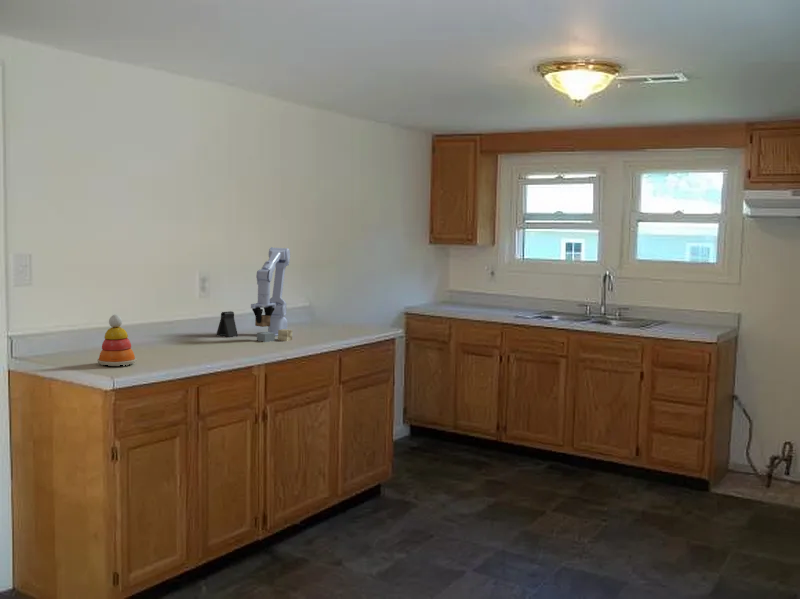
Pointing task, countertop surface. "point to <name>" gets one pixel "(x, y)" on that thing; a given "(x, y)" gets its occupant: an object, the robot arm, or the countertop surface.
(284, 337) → the maple cube
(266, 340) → the grey base block
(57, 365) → the countertop surface
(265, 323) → the walnut cube
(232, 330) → the phone stand
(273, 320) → the robot arm
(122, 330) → the stacking toy
